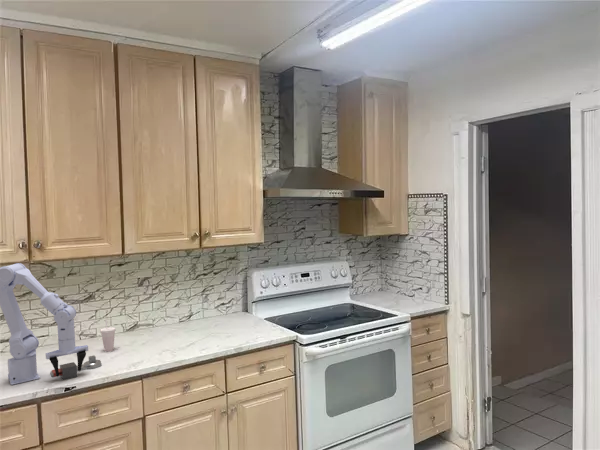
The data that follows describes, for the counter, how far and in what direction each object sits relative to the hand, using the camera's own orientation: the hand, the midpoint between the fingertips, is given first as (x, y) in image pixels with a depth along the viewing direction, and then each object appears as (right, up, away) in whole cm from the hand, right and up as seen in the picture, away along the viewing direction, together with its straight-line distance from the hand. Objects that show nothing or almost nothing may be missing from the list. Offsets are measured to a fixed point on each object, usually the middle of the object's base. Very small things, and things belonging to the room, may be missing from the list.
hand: (68, 373), depth 177 cm
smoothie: (+3, 0, +31) cm, 31 cm away
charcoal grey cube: (0, -1, 0) cm, 1 cm away
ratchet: (0, -1, +7) cm, 7 cm away
